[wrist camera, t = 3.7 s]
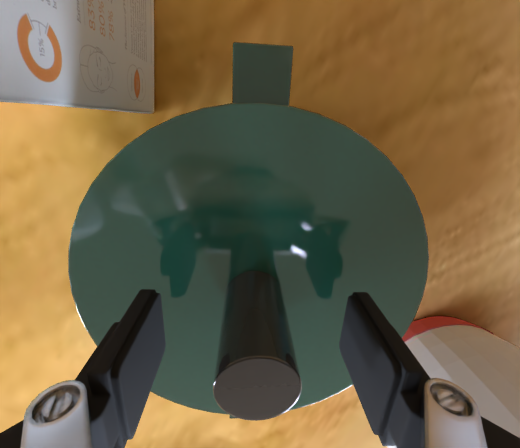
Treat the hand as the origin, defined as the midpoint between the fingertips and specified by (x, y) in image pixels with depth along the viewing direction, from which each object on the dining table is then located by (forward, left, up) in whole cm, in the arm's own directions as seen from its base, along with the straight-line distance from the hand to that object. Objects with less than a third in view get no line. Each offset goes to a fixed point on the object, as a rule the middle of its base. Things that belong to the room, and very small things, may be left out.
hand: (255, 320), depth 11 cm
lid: (0, 0, -2) cm, 2 cm away
